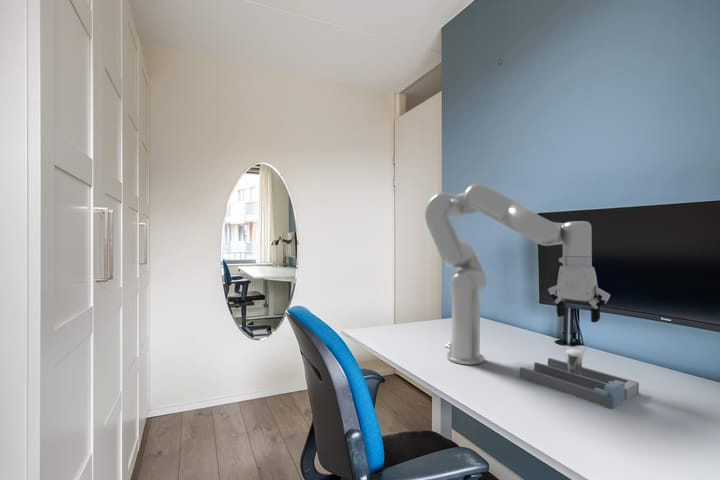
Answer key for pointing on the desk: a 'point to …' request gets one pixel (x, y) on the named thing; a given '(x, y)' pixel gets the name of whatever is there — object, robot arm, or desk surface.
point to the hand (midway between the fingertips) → (577, 318)
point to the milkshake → (574, 360)
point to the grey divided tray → (582, 383)
